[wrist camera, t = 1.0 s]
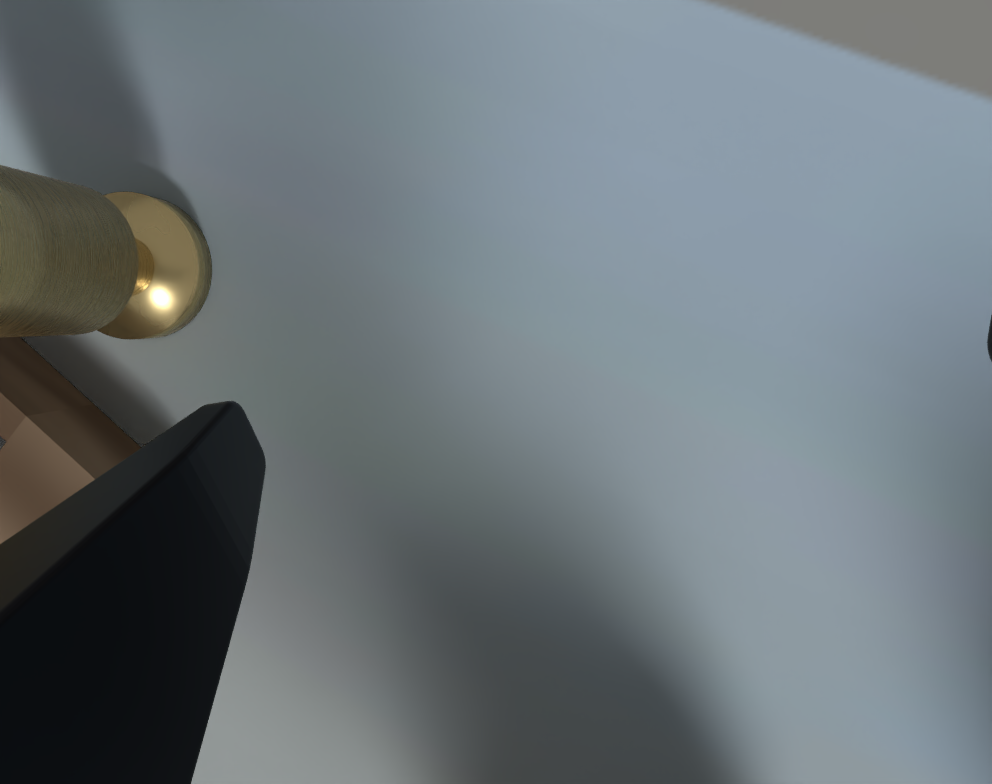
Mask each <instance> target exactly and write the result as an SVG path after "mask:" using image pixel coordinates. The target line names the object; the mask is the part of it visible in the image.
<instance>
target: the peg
mask: <svg viewBox="0 0 992 784" xmlns="http://www.w3.org/2000/svg"><path fill="white" fill-rule="evenodd" d="M211 277H212V264H211V256H210V252H209V248H208V245H207V243H206V240H205V238H204V236H203V234H202V232H201V230H200V229H199V227H198V226H197V224H196V223H195V222H194V221H193V220H192V219H191V217H190V216H189V215H187V214H186V213H185V212H184V211H183V210H181V209H180V208H178V207H177V206H175V205H173V204H171V203H169V202H167V201H164V200H161V199H158V198H154V197H151V196H147V195H143V194H140V193H134V192H115V193H110V194H106V195H102V194H100V193H99V192H97V191H95V190H92V189H90V188H87V187H84V186H81V185H77V184H73V183H69V182H65V181H61V180H57V179H53V178H49V177H46V176H42V175H38V174H34V173H30V172H26V171H22V170H18V169H14V168H10V167H6V166H2V165H0V337H26V336H54V335H77V334H85V333H89V332H93V331H95V330H98V331H100V332H102V333H104V334H106V335H109V336H112V337H115V338H121V339H147V338H159V337H163V336H167V335H170V334H172V333H175V332H176V331H178V330H180V329H182V328H183V327H184V326H186V325H187V324H188V323H189V322H190V321H191V320H192V319H193V318H194V317H195V316H196V315H197V314H198V312H199V311H200V310H201V308H202V306H203V304H204V302H205V300H206V298H207V295H208V292H209V288H210V284H211Z"/></svg>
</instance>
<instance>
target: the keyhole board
mask: <svg viewBox="0 0 992 784" xmlns="http://www.w3.org/2000/svg"><path fill="white" fill-rule="evenodd" d="M0 436H1V437H2V438H3V439H4V440H5V441H6V443H5V444H4V446H3V447H2V448H1V450H0V544H1V543H2V542H4V541H5V540H7V539H8V538H10V537H11V536H13V535H14V534H16V533H17V532H19V531H20V530H22V529H23V528H24V527H26V526H27V525H29V524H30V523H32V522H33V521H35V520H36V519H38V518H39V517H41V516H42V515H44V514H45V513H46V512H48V511H49V510H51V509H52V508H54V507H55V506H57V505H58V504H60V503H61V502H63V501H64V500H66V499H67V498H68V497H70V496H71V495H73V494H74V493H76V492H77V491H79V490H80V489H82V488H83V487H85V486H86V485H88V484H89V483H90V482H92V481H93V480H95V479H96V478H98V477H99V476H101V475H102V474H104V473H105V472H107V471H108V470H110V469H111V468H112V467H114V466H115V465H117V464H118V463H120V462H121V461H123V460H124V459H126V458H127V457H129V456H130V455H132V454H133V453H134V452H136V451H137V450H139V449H140V448H141V447H140V446H139V445H138V444H137V443H135V442H134V441H133V440H132V439H131V438H130V437H129V436H128V435H127V434H126V433H125V432H123V431H122V430H121V429H120V428H119V427H118V426H117V425H116V424H115V423H114V422H112V421H111V420H110V419H109V418H108V417H107V416H106V415H105V414H104V413H103V412H101V411H100V410H99V409H98V408H97V407H96V406H95V405H94V404H93V403H92V402H90V401H89V400H88V399H87V398H86V397H85V396H84V395H83V394H82V393H81V392H80V391H78V390H77V389H76V388H75V387H74V386H73V385H72V384H71V383H70V382H69V381H67V380H66V379H65V378H64V377H63V376H62V375H61V374H60V373H59V372H58V371H56V370H55V369H54V368H53V367H52V366H51V365H50V364H49V363H48V362H47V361H45V360H44V359H43V358H42V357H41V356H40V355H39V354H38V353H37V352H36V351H35V350H33V349H32V348H31V347H30V346H29V345H28V344H27V343H26V342H25V341H24V340H22V339H21V338H20V337H0Z"/></svg>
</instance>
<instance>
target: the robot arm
mask: <svg viewBox="0 0 992 784" xmlns="http://www.w3.org/2000/svg"><path fill="white" fill-rule="evenodd" d="M987 343H988V352H989V356H990V359H991V361H992V315H991V321H990V327H989V333H988V341H987ZM265 468H266V465H265V456H264V453H263V450H262V447H261V445H260V443H259V441H258V439H257V437H256V435H255V433H254V431H253V429H252V426H251V424H250V422H249V420H248V418H247V416H246V414H245V412H244V410H243V408H242V407H241V406H240V405H239V404H238V403H236V402H234V401H226V402H220V403H213V404H207V405H204V406H202V407H200V408H199V409H198V410H196V411H195V412H193V413H192V414H190V415H189V416H187V417H186V418H184V419H183V420H181V421H180V422H178V423H177V424H176V425H174V426H173V427H171V428H170V429H168V430H167V431H165V432H164V433H162V434H161V435H159V436H158V437H156V438H155V439H154V440H152V441H151V442H149V443H148V444H146V445H145V446H143V447H142V448H140V449H139V450H137V451H136V452H134V453H133V454H132V455H130V456H129V457H127V458H126V459H124V460H123V461H121V462H120V463H118V464H117V465H115V466H114V467H112V468H111V469H110V470H108V471H107V472H105V473H104V474H102V475H101V476H99V477H98V478H96V479H95V480H93V481H92V482H90V483H89V484H88V485H86V486H85V487H83V488H82V489H80V490H79V491H77V492H76V493H74V494H73V495H71V496H70V497H68V498H67V499H66V500H64V501H63V502H61V503H60V504H58V505H57V506H55V507H54V508H52V509H51V510H49V511H48V512H46V513H45V514H44V515H42V516H41V517H39V518H38V519H36V520H35V521H33V522H32V523H30V524H29V525H27V526H26V527H24V528H23V529H22V530H20V531H19V532H17V533H16V534H14V535H13V536H11V537H10V538H8V539H7V540H5V541H4V542H2V543H1V544H0V784H191V781H192V777H193V774H194V770H195V767H196V763H197V759H198V756H199V752H200V749H201V745H202V741H203V738H204V734H205V730H206V727H207V723H208V720H209V716H210V712H211V709H212V705H213V702H214V698H215V694H216V691H217V687H218V684H219V680H220V676H221V673H222V669H223V665H224V662H225V658H226V655H227V651H228V647H229V644H230V640H231V637H232V633H233V629H234V626H235V622H236V618H237V615H238V611H239V608H240V604H241V600H242V597H243V593H244V590H245V586H246V582H247V578H248V574H249V570H250V564H251V559H252V554H253V548H254V541H255V535H256V528H257V521H258V515H259V508H260V502H261V495H262V489H263V482H264V476H265Z"/></svg>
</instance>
